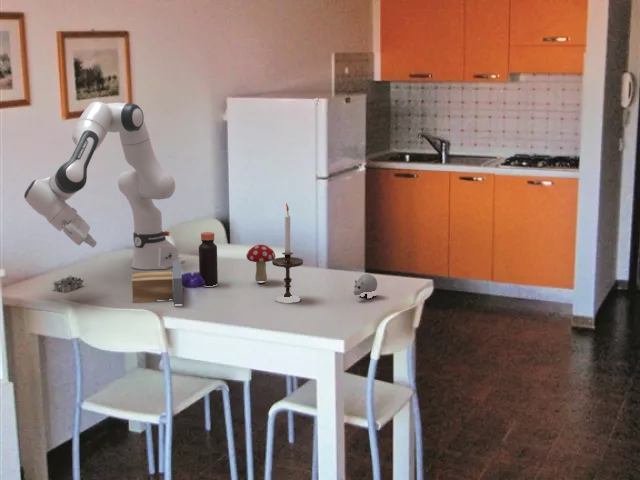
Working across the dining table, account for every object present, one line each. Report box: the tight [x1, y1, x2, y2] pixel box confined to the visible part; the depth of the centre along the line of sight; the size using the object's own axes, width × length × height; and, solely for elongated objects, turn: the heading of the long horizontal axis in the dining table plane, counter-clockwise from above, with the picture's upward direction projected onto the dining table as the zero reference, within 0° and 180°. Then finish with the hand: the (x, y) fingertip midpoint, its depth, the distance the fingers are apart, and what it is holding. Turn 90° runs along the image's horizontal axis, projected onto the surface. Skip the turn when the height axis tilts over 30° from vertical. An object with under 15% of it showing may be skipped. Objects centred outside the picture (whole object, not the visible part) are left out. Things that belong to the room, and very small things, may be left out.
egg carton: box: [51, 275, 85, 293], centre depth 331 cm, size 11×8×4 cm
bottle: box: [198, 231, 219, 286], centre depth 334 cm, size 7×7×20 cm
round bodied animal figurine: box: [353, 273, 378, 296], centre depth 319 cm, size 7×12×8 cm, turn 143°
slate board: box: [172, 261, 184, 306], centre depth 320 cm, size 26×3×10 cm, turn 9°
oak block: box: [131, 270, 174, 303], centre depth 320 cm, size 12×14×8 cm
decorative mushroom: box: [245, 244, 277, 282], centre depth 338 cm, size 11×11×15 cm
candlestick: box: [271, 202, 304, 297], centre depth 313 cm, size 11×11×35 cm
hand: (95, 245), depth 313 cm, fingers closed
